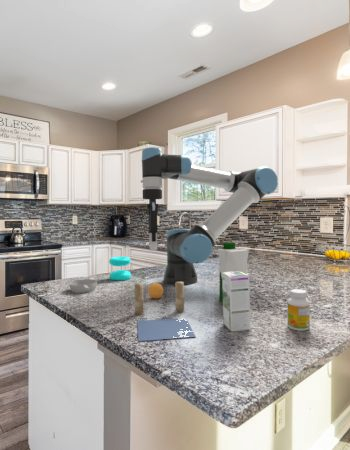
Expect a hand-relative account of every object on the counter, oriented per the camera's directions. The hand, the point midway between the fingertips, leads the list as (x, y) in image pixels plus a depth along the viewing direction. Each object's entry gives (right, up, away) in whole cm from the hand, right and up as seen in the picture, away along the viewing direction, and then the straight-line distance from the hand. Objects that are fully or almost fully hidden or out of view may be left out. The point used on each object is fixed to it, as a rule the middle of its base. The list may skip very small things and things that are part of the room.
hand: (153, 249), depth 121 cm
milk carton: (+29, -17, -14) cm, 36 cm away
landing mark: (+6, -18, -38) cm, 43 cm away
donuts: (-17, -16, +26) cm, 35 cm away
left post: (-2, -18, -25) cm, 31 cm away
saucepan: (-27, -18, +1) cm, 32 cm away
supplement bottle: (+41, -18, -39) cm, 59 cm away
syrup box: (+25, -18, -38) cm, 49 cm away
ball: (+2, -14, -9) cm, 17 cm away
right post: (+10, -18, -24) cm, 31 cm away
